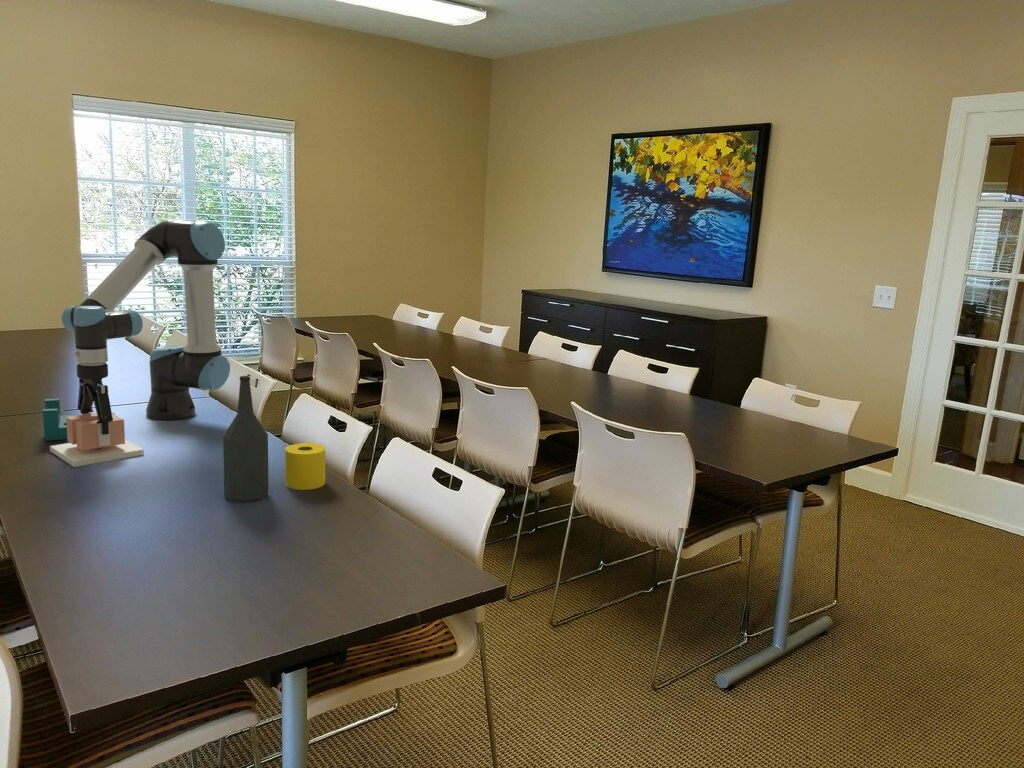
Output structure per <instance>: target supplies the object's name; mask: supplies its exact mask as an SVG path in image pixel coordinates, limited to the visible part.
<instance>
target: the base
mask: <svg viewBox="0 0 1024 768" xmlns="http://www.w3.org/2000/svg"><path fill="white" fill-rule="evenodd" d="M144 450H145V449H144V448H142V447H140V446H138V445H136V444H135V443H132V442H130V441H129V440H127V439H125V444H120V445H114V446H108V447H101V448H95V449H89V450H81V449H79V448H78V447H77V444H74V445H73V444H71V443H69V442H66V443H60V444H54V445H49V452H51V453H52V454H54V455H55V456H57V457H58V458H60V459H61V460H63V461H64V462H65V463H67V464H69V465H70V466H72V467H73V468H76V467H81V466H87V465H94V464H98V463H99V464H100V463H105V462H110V461H115V460H116V461H117V460H122V459H126V458H127V457H128V458H133V457H137V456H144V455H145V451H144ZM121 458H122V459H121Z"/></svg>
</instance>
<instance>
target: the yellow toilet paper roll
mask: <svg viewBox="0 0 1024 768" xmlns="http://www.w3.org/2000/svg"><path fill="white" fill-rule="evenodd" d="M284 453H285V454H284V455H285V456H284V457H285V458H284V460H285V461H284V464H285V465H284V467H285V469H284V471H285V473H284V475H285V478H284V482H285V483H284V484H285V486H286V487H287V488H289V489H293V490H297V491H305V490H306V491H309V490H315V489H318V488H321V487H323V486H324V485H325V484H326V447H325V446H324V445H322V444H319V443H314V442H300V443H294V444H290V445H288V446H286V447H285V449H284Z"/></svg>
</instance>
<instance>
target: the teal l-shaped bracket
mask: <svg viewBox="0 0 1024 768" xmlns="http://www.w3.org/2000/svg"><path fill="white" fill-rule="evenodd" d="M44 406H45V409H44V408H43V409H42V418H43V419H42V420H43V421H42V422H43V430H44V432H43V434H44V441H55V440H56V441H58V440H68V439H67V422H66V417H71V416H78V415H79V414H68V415H67V414H65V415H61V403H60V398H45V400H44ZM112 414H114V415H116V413H115V412H112Z"/></svg>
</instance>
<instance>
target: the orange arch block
mask: <svg viewBox="0 0 1024 768" xmlns="http://www.w3.org/2000/svg"><path fill="white" fill-rule="evenodd" d="M77 415H78V416H71V417H66V422H67V439H66V440H67V443H71V444H73V445H74V444H77V447H78V448H79V449H81V450H89V449H95V448H101V447H108V446H114V445H120V444H125V440H126V437H125V435H126V433H125V419H124V418H122V417H120V416H119V415H116V414H115V415H114V414H112V418H113V421H110V422H109V428H110V445H106V446H99V440H98V424H97V423H96V422H97V421H99V419H98V416H97V412H96V413H94V412H93V414H86V415H81V414H77ZM105 418H106V417H105Z"/></svg>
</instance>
